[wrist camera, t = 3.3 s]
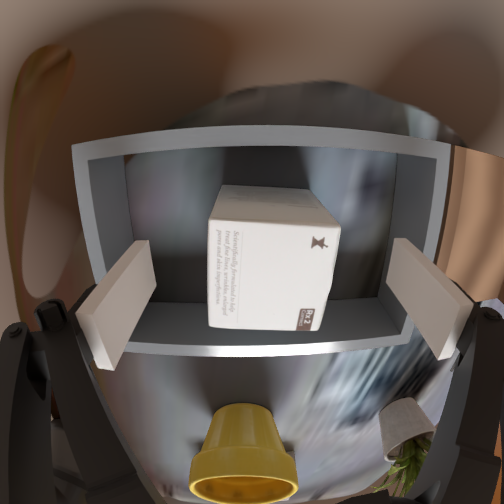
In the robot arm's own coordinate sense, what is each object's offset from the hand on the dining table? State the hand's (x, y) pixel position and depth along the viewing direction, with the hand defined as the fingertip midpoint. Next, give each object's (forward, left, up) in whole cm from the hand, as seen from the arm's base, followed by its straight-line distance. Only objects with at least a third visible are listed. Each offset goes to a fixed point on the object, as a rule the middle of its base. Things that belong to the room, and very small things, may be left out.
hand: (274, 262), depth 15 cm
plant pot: (-2, -22, -6) cm, 23 cm away
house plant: (+16, -24, -6) cm, 29 cm away
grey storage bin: (0, 0, -6) cm, 6 cm away
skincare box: (0, 0, -6) cm, 6 cm away
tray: (+19, 0, -6) cm, 20 cm away
